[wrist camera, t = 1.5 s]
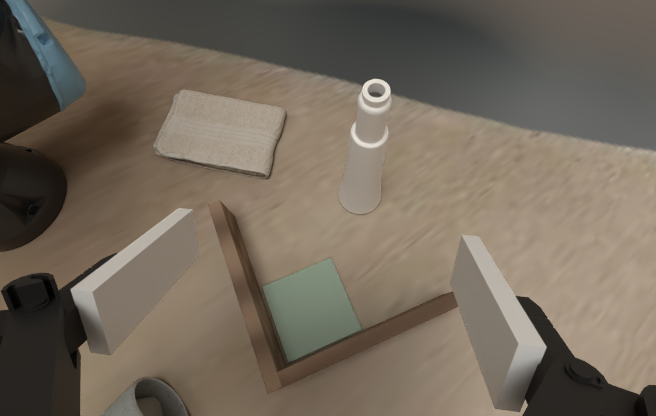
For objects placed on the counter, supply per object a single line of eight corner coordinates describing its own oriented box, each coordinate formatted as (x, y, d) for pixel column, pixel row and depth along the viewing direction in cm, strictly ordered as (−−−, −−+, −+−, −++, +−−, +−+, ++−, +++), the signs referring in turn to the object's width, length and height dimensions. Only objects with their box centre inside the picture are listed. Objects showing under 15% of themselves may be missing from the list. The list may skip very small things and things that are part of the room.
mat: (262, 287, 43) (262, 286, 43) (331, 257, 44) (331, 257, 44) (288, 362, 40) (288, 362, 40) (361, 329, 41) (361, 329, 41)
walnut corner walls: (224, 219, 46) (208, 205, 41) (371, 161, 48) (375, 139, 43) (278, 384, 39) (267, 393, 34) (447, 306, 42) (464, 303, 36)
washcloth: (182, 96, 54) (173, 83, 51) (289, 114, 52) (287, 101, 49) (155, 161, 50) (144, 151, 47) (270, 182, 48) (265, 173, 46)
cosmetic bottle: (388, 185, 47) (426, 74, 26) (370, 221, 45) (397, 134, 25) (349, 168, 48) (357, 49, 28) (330, 203, 47) (324, 105, 26)
